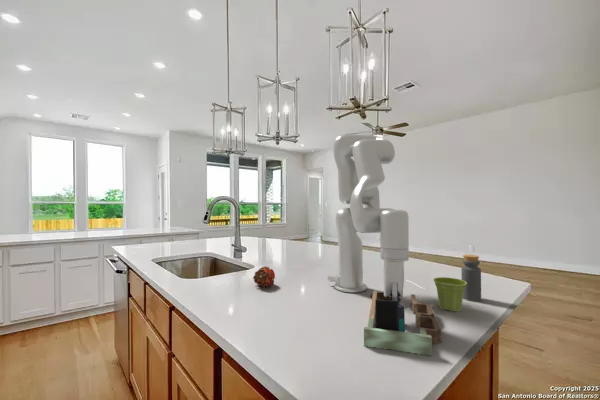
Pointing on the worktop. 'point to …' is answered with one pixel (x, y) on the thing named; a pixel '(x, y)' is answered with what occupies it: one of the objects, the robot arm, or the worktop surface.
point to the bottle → (471, 278)
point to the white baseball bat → (414, 284)
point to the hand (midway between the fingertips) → (394, 318)
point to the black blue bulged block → (390, 315)
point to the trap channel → (405, 340)
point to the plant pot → (450, 292)
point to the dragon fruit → (264, 277)
